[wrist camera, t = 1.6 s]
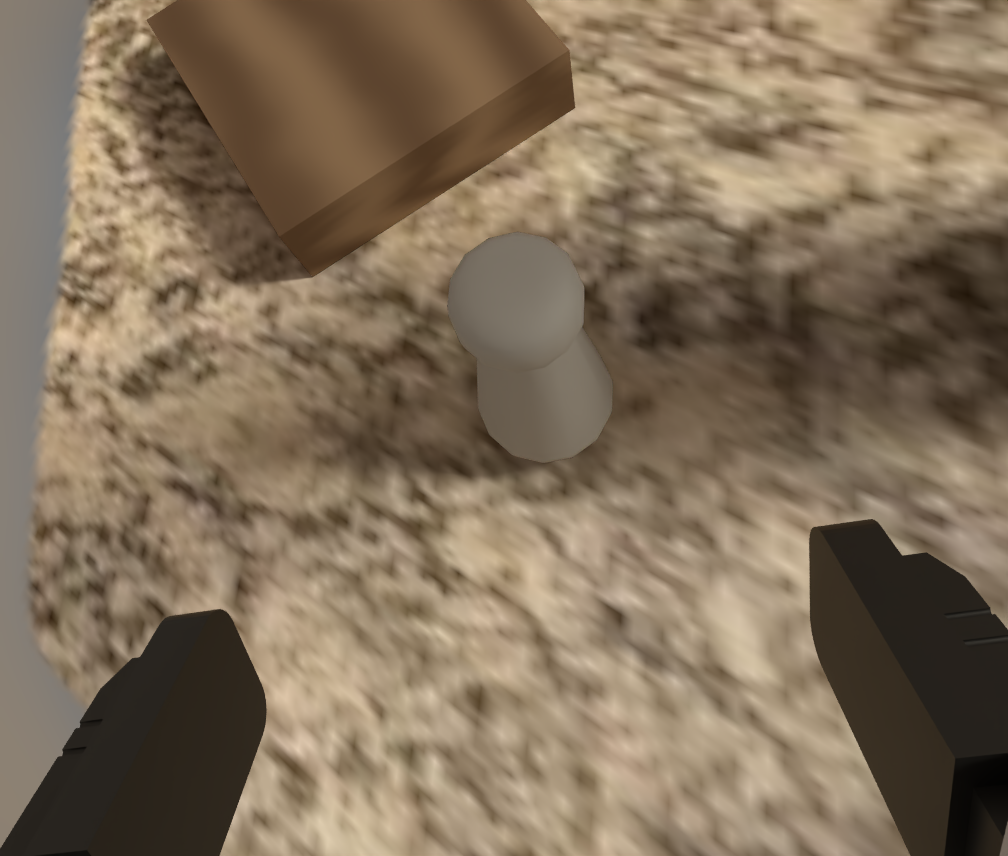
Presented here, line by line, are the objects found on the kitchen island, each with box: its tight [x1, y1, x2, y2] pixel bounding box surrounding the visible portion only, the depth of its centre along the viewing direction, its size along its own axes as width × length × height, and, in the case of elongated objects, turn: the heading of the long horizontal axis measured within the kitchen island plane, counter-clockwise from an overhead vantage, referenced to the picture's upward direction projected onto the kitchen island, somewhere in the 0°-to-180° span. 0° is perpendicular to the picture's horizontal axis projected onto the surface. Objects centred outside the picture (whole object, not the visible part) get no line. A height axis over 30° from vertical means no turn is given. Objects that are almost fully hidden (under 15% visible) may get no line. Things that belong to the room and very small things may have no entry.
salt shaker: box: [447, 232, 613, 463], centre depth 29 cm, size 6×6×13 cm
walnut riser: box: [147, 0, 575, 277], centre depth 40 cm, size 16×16×4 cm
